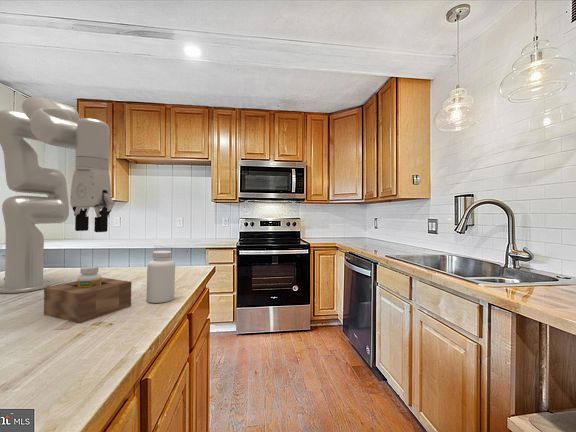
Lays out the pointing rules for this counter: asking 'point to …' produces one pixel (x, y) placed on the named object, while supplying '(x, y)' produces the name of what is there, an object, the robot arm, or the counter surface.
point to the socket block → (86, 300)
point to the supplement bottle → (89, 277)
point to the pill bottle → (160, 278)
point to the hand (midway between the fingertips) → (91, 230)
